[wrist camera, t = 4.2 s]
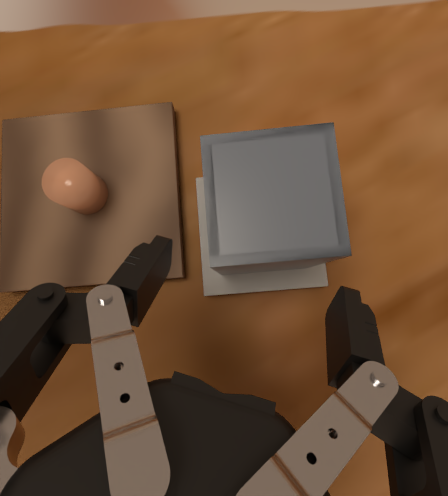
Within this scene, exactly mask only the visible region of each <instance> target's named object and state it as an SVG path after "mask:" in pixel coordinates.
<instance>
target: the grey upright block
mask: <svg viewBox="0 0 448 496" xmlns="http://www.w3.org/2000/svg"><path fill="white" fill-rule="evenodd" d="M200 141H201V154H202V168H203V181H204V195H205V208H206V222H207V235H208V249H209V263H210V268H211V269H213V270H214V271H216V272H217V273H219V274H220V275H231V274H243V273H256V272H268V271H280V270H292V269H304V268H309V267H313V266H316V265H320V264H323V263H327V262H331V261H334V260H338V259H341V258H345V257H348V256H352V255H351V248H350V240H349V233H348V226H347V218H346V211H345V204H344V196H343V189H342V182H341V174H340V167H339V159H338V152H337V145H336V137H335V130H334V123H323V124H313V125H303V126H293V127H283V128H273V129H263V130H253V131H243V132H233V133H223V134H214V135H204V136H200Z"/></svg>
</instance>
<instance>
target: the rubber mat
mask: <svg viewBox="0 0 448 496" xmlns="http://www.w3.org/2000/svg"><path fill="white" fill-rule="evenodd" d="M196 188H197V202H198V217H199V231H200V245H201V259H202V273H203V287H204V296H210V295H223V294H235V293H248V292H261V291H273V290H286V289H298V288H311V287H323V286H328V280H327V272H326V264H325V263H323V264H320V265H316V266H313V267H309V268H304V269H292V270H280V271H268V272H256V273H243V274H231V275H220V274H219V273H217V272H216V271H214V270H213V269H211V268H210V263H209V249H208V235H207V222H206V208H205V195H204V181H203V177H202V178H196Z"/></svg>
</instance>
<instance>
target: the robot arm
mask: <svg viewBox="0 0 448 496" xmlns="http://www.w3.org/2000/svg"><path fill="white" fill-rule="evenodd" d="M172 245H173V240H172V239H170V238H166V237H163V236H159V235H156V236H155V237H154V239H153V240H152V242H151V243H150V244H148V243H144V242H143V243H141V244H140V245H138V246H136V247H135V248H134V249H133V250H132V251H131V253H130V254H129V256H127V258H126V259H125V260H124V262H123V263H122V264H121V265H120V267H119V268H118V269H117V271H116V272H115V273H114V274H113V276H112V277H111V278H110V280H109V281H108V282H107V283H106V284H105V285H100V286H97V287H95V288H93V289H92V290H91V291H90V292H89V293H66V292H65V289H64V287H63V286H62V285H60V284H57V283H43V284H40V285H37V286H35V287H33V288H32V289H31V290H30V291H28V293H27V294H26V295H25V296H24V297H23V298H22V299H21V300H20V301H19V302H18V303H17V304H16V305H15V306H14V307H13V309H12V310H11V311H10V312H9V313H8V314H7V315H6V316H5V317H4V318H3V319H2V320H1V321H0V496H330V494H329V492H328V490H327V489H328V488H329V487H330V485H331V484H332V483H333V481H334V480H335V479H336V477H337V476H338V475H339V473H340V472H341V471H342V469H343V468H344V467H345V465H346V464H347V463H348V461H349V460H350V459H351V457H352V456H353V455H354V453H355V452H356V451H357V449H358V448H359V447H360V445H361V444H362V443H363V441H364V440H365V439H366V437H367V436H368V435H369V433H370V432H371V433H372V434H374V435H375V436H377V437H378V438H380V439H381V440H383V441H384V442H385V451H386V460H387V469H388V477H389V486H390V495H391V496H448V402H447V401H445V400H443V399H442V398H439V397H436V396H427V397H425V398H424V399H423V400H422V399H420V398H419V397H417V396H415V395H414V394H412V393H410V392H408V391H407V390H405V389H404V388H402V387H401V386H399V385H398V382H397V379H396V377H395V376H394V374H393V373H392V372H391V371H390V370H389V369H388V368H387V367H386V366H385V363H384V358H383V353H382V348H381V344H380V339H379V335H378V329H377V327H376V326H377V324H376V320H375V315H374V313H373V312H372V310H371V309H370V307H369V306H368V305H366V304H363V303H362V302H361V296H360V292H359V291H358V290H355V289H351V288H347V287H344V286H341V287H340V288H339V290H338V291H337V293H336V295H335V297H334V298H333V300H332V302H331V304H330V305H329V307H328V310H327V313H326V318H325V326H326V350H327V374H328V385H329V386H332V387H335V388H337V391H336V392H334V393H333V394H332V395H331V396H330V397H329V398H328V399H327V401H326V402H325V403H324V404H323V405H322V406H321V407H320V408H319V409H318V410H317V411H316V412H315V413H314V414H313V415H312V416H311V417H310V418H309V419H308V420H307V421H306V422H305V423H304V424H303V425H302V426H301V428H300V429H299V430H298V431H297V432H296V431H295V429H294V428H293V427H292V425H291V424H290V423H289V422H288V421H287V420H286V419H285V418H284V417H283V416H281V415H280V414H279V413H277V412H276V411H275V406H276V403H275V402H272V401H269V400H266V399H262V398H259V397H256V396H253V395H244V394H224V393H221V392H219V391H218V390H216V389H215V388H213V387H211V386H210V385H208V384H206V383H205V382H203V381H202V380H200V379H198V378H195V377H192V376H188V375H185V374H182V373H179V372H175V371H174V374H173V376H172V379H171V378H166V379H158V380H154V381H151V382H148V383H147V380H146V376H145V372H144V368H143V364H142V360H141V356H140V352H139V348H138V344H137V340H136V336H135V333H134V331H133V330H132V328H131V325H132V326H136V327H139V325H140V323H141V322H142V320H143V318H144V316H145V315H146V313H147V311H148V309H149V307H150V306H151V304H152V302H153V300H154V299H155V297H156V295H157V293H158V291H159V290H160V288H161V286H162V284H163V283H164V281H165V279H166V277H167V276H168V273H169V271H170V268H171V261H172ZM89 343H91V346H92V354H93V362H94V369H95V377H96V385H97V392H98V400H99V408H100V413H98V414H97V415H95V416H93V417H92V418H90V419H89V420H87V421H86V422H84V423H83V424H81V425H79V426H78V427H76V428H75V429H73V430H72V431H70V432H69V433H67V434H66V435H64V436H62V437H61V438H59V439H58V440H56V441H55V442H53V443H52V444H50V445H49V446H47V447H45V448H44V449H42V450H41V451H39V452H38V453H36V454H35V455H33V456H32V457H30V458H29V459H28V460H27V461H25V462H24V463H23V464H22V465H21V466H20V467H19V468H17V458H18V454H19V451H20V449H21V447H22V445H23V443H24V439H25V431H24V428H23V426H22V425H21V423H20V422H21V420H22V419H23V417H24V416H25V414H26V413H27V411H28V410H29V408H30V406H31V405H32V403H33V402H34V400H35V399H36V397H37V396H38V394H39V393H40V391H41V390H42V388H43V387H44V385H45V384H46V382H47V381H48V379H49V378H50V376H51V375H52V373H53V372H54V370H55V369H56V367H57V366H58V364H59V362H60V361H61V359H62V358H63V356H64V355H65V353H66V352H67V350H68V349H69V347H70V346H71V344H89Z"/></svg>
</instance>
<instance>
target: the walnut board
mask: <svg viewBox="0 0 448 496" xmlns="http://www.w3.org/2000/svg"><path fill="white" fill-rule="evenodd" d="M61 158H73V159H75V160H77V161H79V162H80V163H82V164H83V165H84V166H86V167H87V168H88V169H89V170H91V171H92V172H93V173H94V174H96V175H97V176H98V177H100V178H101V179H102V180H103V181H104V182H105V184H106V186H107V188H108V198H107V201H106V203H105V205H104V206H103V207H102V208H101V209H100V210H99V211H98V212H96V213H93V214H89V215H84V214H80V213H78V212H75V211H73V210H71V209H69V208H67V207H65V206H62V205H60V204H58V203H56V202H54V201H52V200H50V199H49V198H48V197H47V196H46V195H45V193H44V191H43V189H42V176H43V173H44V171H45V170H46V168H47V167H48V166H49V165H50V164H51V163H52V162H54V161H55V160H58V159H61ZM156 235H159V236H163V237H166V238H170V239H172V240H173V245H172V261H171V268H170V271H169V273H168V276H167V277H166V279H174V278H185V271H184V255H183V239H182V223H181V207H180V191H179V175H178V159H177V143H176V128H175V112H174V107H173V104H172V102H167V103H158V104H149V105H139V106H130V107H120V108H111V109H101V110H92V111H82V112H73V113H63V114H54V115H45V116H35V117H26V118H16V119H7V120H3V123H2V182H1V241H0V292H16V291H28V290H31V289H32V288H33V287H35V286H37V285H40V284H43V283H57V284H60V285H62V286H63V287H64V288H65V287H77V286H89V285H101V284H106V283H107V282H108V281H109V280H110V278H111V277H112V276H113V274H114V273H115V272H116V271H117V269H118V268H119V267H120V265H121V264H122V263H123V262H124V260H125V259H126V258H127V256H129V254H130V253H131V251H132V250H133V249H134V248H135V247H136V246H138V245H140V244H141V243H143V242H144V243H148V244H150V243H151V242H152V240H153V239H154V237H155V236H156Z"/></svg>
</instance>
